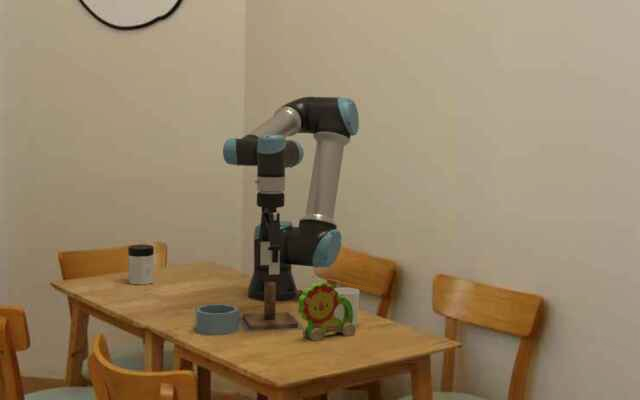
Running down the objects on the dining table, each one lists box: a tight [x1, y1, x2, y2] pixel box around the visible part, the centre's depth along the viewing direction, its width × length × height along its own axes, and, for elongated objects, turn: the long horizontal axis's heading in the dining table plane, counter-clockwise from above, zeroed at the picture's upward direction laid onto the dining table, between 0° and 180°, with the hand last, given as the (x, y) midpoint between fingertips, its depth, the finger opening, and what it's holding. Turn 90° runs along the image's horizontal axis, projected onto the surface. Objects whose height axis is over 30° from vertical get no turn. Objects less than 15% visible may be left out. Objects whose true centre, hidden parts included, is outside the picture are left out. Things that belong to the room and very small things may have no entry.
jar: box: [127, 244, 155, 285], centre depth 313 cm, size 9×8×12 cm
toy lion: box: [297, 281, 357, 342], centre depth 249 cm, size 16×5×15 cm, turn 122°
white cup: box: [334, 287, 361, 328], centre depth 262 cm, size 8×8×10 cm
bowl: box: [195, 303, 240, 336], centre depth 255 cm, size 11×11×6 cm
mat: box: [239, 314, 304, 333], centre depth 263 cm, size 16×16×1 cm
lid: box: [242, 282, 298, 330], centre depth 262 cm, size 13×13×11 cm
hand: (269, 269), depth 261 cm, fingers open, 13 cm apart
